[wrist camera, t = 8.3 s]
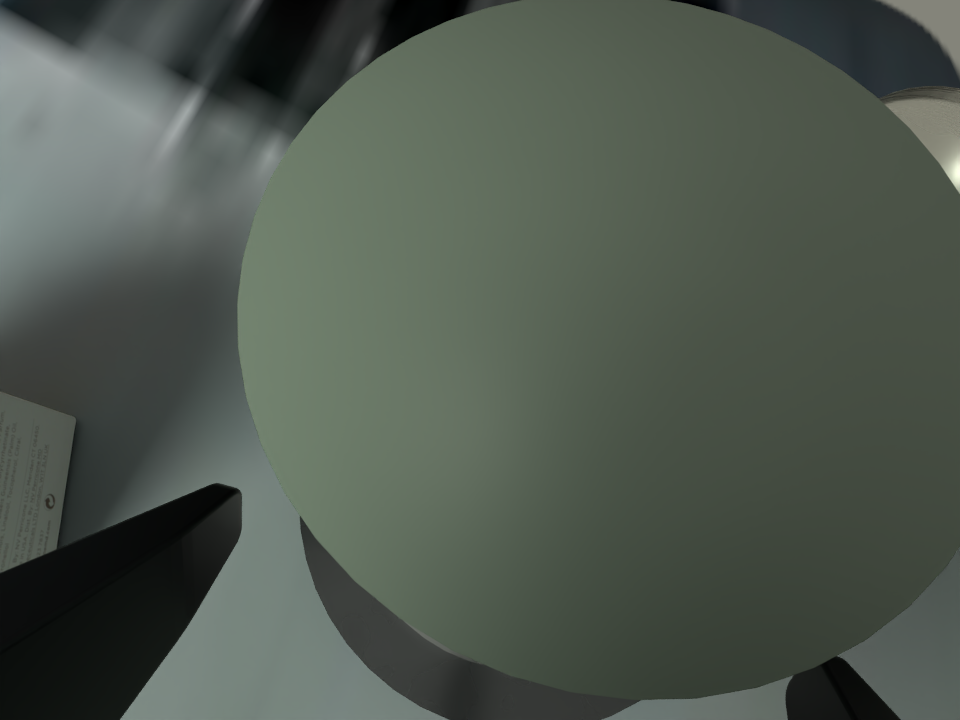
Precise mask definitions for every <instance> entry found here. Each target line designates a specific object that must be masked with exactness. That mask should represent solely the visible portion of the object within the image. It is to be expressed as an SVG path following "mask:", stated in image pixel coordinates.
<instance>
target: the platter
mask: <svg viewBox="0 0 960 720" xmlns="http://www.w3.org/2000/svg"><path fill="white" fill-rule="evenodd" d="M300 525H301V534H302V539H303V545H304V550H305V555H306V560H307V563H308V566H309V569H310V572H311V575H312V579H313V582H314V585H315V588H316V590H317V592H318V594H319V596H320V599H321V601H322V603H323V605H324V607H325V609H326V611H327V613H328V615H329V617H330V619H331V620H332V622H333V623H334V625H335V626H336V628H337V629H338V631H339V632H340V634H341V635H342V637H343V638H344V640H345V641H346V643H347V644H348V645H349V647H350V648H351V649H352V650H353V651H354V652H355V653H356V655H357V656H358V657H359V658H360V659H361V660H362V661H363V662H364V664H365V665H366V666H367V667H368V668H369V669H370V670H371V671H372V672H374V673H375V674H376V675H377V676H378V677H379V678H381V679H382V680H383V681H384V682H385V683H386V684H388V685H389V686H390V687H391V688H392V689H394V690H395V691H397V692H398V693H400V694H401V695H403V696H405V697H406V698H408V699H409V700H411V701H412V702H414V703H416V704H417V705H419V706H420V707H422V708H425V709H427V710H429V711H431V712H434V713H436V714H438V715H440V716H442V717H445V718H447V719H449V720H601V719H604V718H607V717H610V716H612V715H614V714H616V713H618V712H620V711H622V710H624V709H625V708H627V707H629V706H631V705H633V704H635V703H637V702H639V701H640V700H630V699H622V698H614V697H605V696H597V695H589V694H581V693H573V692H568V691H564V690H561V689H557V688H553V687H550V686H546V685H543V684H539V683H535V682H532V681H528V680H524V679H521V678H517V677H513V676H510V675H507V674H505V673H503V672H500V671H498V670H496V669H494V668H491V667H489V666H487V665H484V664H482V663H480V662H477V661H475V660H473V659H470V658H468V657H466V656H464V655H461V654H459V653H457V652H454V651H452V650H451V649H449V648H447V647H446V646H444V645H442V644H441V643H439V642H437V641H436V640H434V639H433V638H431V637H429V636H428V635H426V634H424V633H423V632H421V631H419V630H418V629H416V628H415V627H413V626H411V625H410V624H408V623H406V622H405V621H403V620H402V619H400V618H399V617H398V616H396V615H395V614H394V613H393V612H392V611H390V610H389V609H388V608H387V607H385V606H384V605H383V604H382V603H381V602H379V601H378V600H377V599H376V598H375V597H373V596H372V595H371V594H370V593H369V592H367V591H366V590H365V589H364V588H362V587H361V586H360V585H359V584H358V583H356V582H355V581H354V580H353V579H352V578H351V577H350V575H349V574H348V573H347V572H346V571H345V570H344V569H343V568H342V567H341V566H340V564H339V563H338V562H337V561H336V560H335V559H334V558H333V557H332V556H331V555H330V554H329V552H328V551H327V550H326V549H325V548H324V547H323V546H322V545H321V544H320V543H319V541H318V540H317V539H316V538H315V537H314V535H313V534H312V532H311V531H310V529H309V528H308V526H307V525H306V523H305V522H304V520H303V519H302V518H301V516H300Z"/></svg>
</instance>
